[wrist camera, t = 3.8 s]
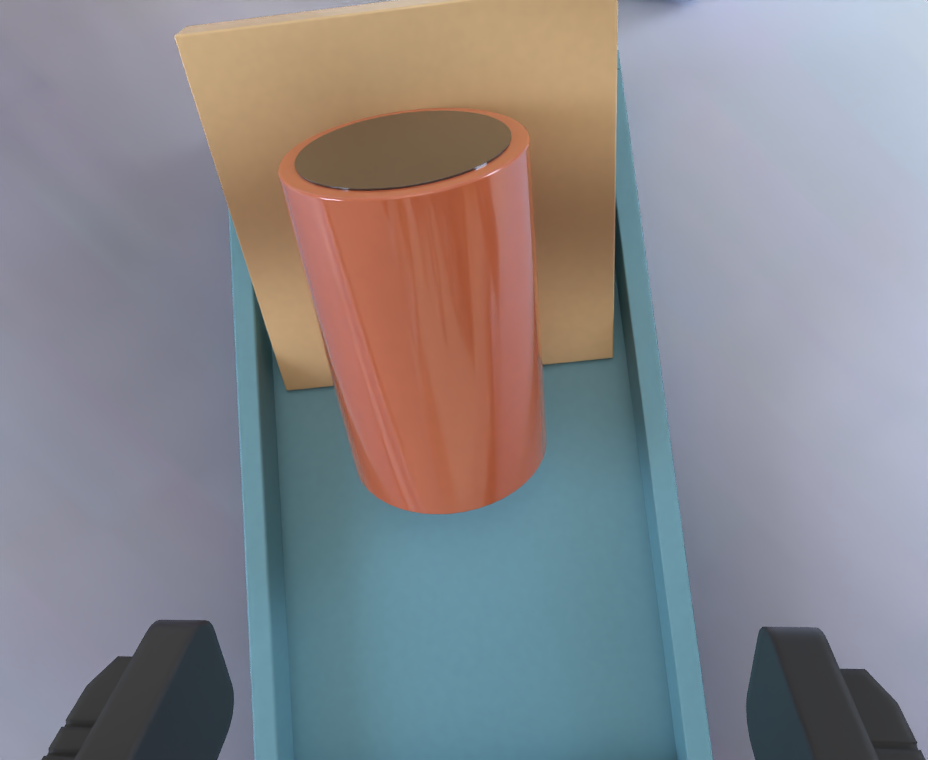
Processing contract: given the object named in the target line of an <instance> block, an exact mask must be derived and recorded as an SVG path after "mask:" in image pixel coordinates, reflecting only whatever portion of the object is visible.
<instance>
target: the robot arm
mask: <svg viewBox="0 0 928 760" xmlns="http://www.w3.org/2000/svg"><path fill="white" fill-rule="evenodd" d="M233 705H234V693H233V687H232V683H231V680H230V677H229V674H228V670H227V667H226V664H225V661H224V658H223V655H222V652H221V649H220V646H219V643H218V640H217V636H216V633H215V630H214V628H213V626H212V624H211V623H210V622H209V621H206V620H158V621H156V622H154V623H153V624H152V625H151V626H150V628H149V629H148V631H147V632H146V634H145V636H144V638H143V639H142V641H141V643H140V645H139V646H138V648H137V650H136V652H135V653H134V655H133V657H123V656H118V657H117V658H116V659H115V660H114V661H113V662H111V663H110V664H109V665H108V666H107V667H106V668H105V669H104V670H103V671H102V672H101V673H100V674H99V675H98V676H97V677H96V678H94V679H93V680H92V681H91V682H90V683H89V684H88V685H87V686H86V688H85V689H84V691H83V693H82V694H81V696H80V698H79V699H78V701H77V703H76V704H75V706H74V708H73V709H72V711H71V712H70V714H69V716H68V717H67V719H66V725H65V727H61V729H60V731H59V732H58V734H57V735H56V737H55V739H54V740H53V742H52V744H51V745H50V747H49V753H48V755H47V756H44V757H43V758H42V760H217V758H218V756H219V753H220V751H221V748H222V746H223V743H224V741H225V738H226V735H227V733H228V730H229V727H230V723H231V719H232V714H233ZM746 711H747V724H748V731H749V736H750V741H751V745H752V749H753V752H754V756H755V760H925V758H924V756H923V754H922V752H921V750H918V748H917V742H916V740H915V738H914V736H913V734H912V731H911V729H910V727H909V725H908V723H907V721H906V719H905V717H904V715H903V713H902V711H901V709H900V707H899V705H898V703H897V702H896V701H895V700H894V699H893V698H892V697H891V696H890V695H889V694H888V693H887V692H886V691H885V690H884V689H883V687H882V686H881V685H880V684H879V683H878V682H877V681H876V680H875V679H874V678H873V677H872V676H871V675H870V674H869V673H868V672H867V671H866V670H865V669H839V666H838V664H837V662H836V659H835V657H834V655H833V652H832V650H831V648H830V646H829V643H828V641H827V639H826V637H825V635H824V634H823V632H822V631H821V630H820V629H819V628H810V627H762V628H761V629H760V631H759V634H758V638H757V644H756V649H755V655H754V660H753V666H752V671H751V677H750V682H749V688H748V693H747V703H746Z"/></svg>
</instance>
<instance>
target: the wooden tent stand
mask: <svg viewBox="0 0 928 760" xmlns="http://www.w3.org/2000/svg"><path fill="white" fill-rule="evenodd" d="M175 41H176V44H177V47H178V50H179V53H180V57H181V60H182V63H183V66H184V69H185V72H186V76H187V79H188V82H189V85H190V88H191V91H192V94H193V98H194V101H195V104H196V107H197V110H198V113H199V117H200V120H201V123H202V126H203V129H204V132H205V136H206V139H207V142H208V145H209V148H210V151H211V154H212V158H213V161H214V164H215V167H216V170H217V173H218V177H219V180H220V183H221V186H222V189H223V192H224V196H225V199H226V202H227V205H228V208H229V211H230V215H231V218H232V221H233V224H234V227H235V230H236V233H237V237H238V240H239V243H240V246H241V249H242V252H243V256H244V259H245V262H246V265H247V268H248V271H249V275H250V278H251V281H252V284H253V287H254V290H255V293H256V297H257V300H258V303H259V306H260V309H261V312H262V316H263V319H264V322H265V325H266V328H267V331H268V335H269V338H270V341H271V344H272V347H273V350H274V353H275V357H276V360H277V363H278V366H279V369H280V372H281V376H282V379H283V382H284V385H285V388H286V390H287V391H289V390H299V389H308V388H318V387H328V386H333V382H332V378H331V374H330V371H329V367H328V363H327V359H326V356H325V352H324V348H323V344H322V341H321V337H320V333H319V329H318V325H317V322H316V318H315V314H314V310H313V307H312V303H311V299H310V295H309V292H308V288H307V284H306V280H305V276H304V273H303V269H302V265H301V261H300V258H299V254H298V250H297V246H296V243H295V239H294V235H293V231H292V227H291V224H290V220H289V216H288V212H287V209H286V205H285V201H284V197H283V194H282V190H281V186H280V182H279V179H278V166H279V163H280V161H281V160H282V158H283V157H284V156H285V155H286V154H287V153H288V151H290V150H291V149H292V148H293V147H295V146H296V145H298V144H299V143H301V142H303V141H304V140H306V139H308V138H310V137H312V136H314V135H316V134H318V133H320V132H323V131H325V130H327V129H330V128H333V127H336V126H338V125H341V124H345V123H348V122H351V121H355V120H359V119H362V118H366V117H371V116H376V115H380V114H386V113H392V112H398V111H406V110H415V109H427V108H467V109H477V110H484V111H490V112H495V113H499V114H502V115H505V116H508V117H510V118H513V119H515V120H517V121H518V122H520V123H521V124H522V125H523V126H524V127H525V128H526V129H527V131H528V133H529V135H530V150H531V167H532V185H533V203H534V221H535V238H536V256H537V274H538V291H539V309H540V327H541V345H542V362H543V365H547V364H556V363H566V362H576V361H586V360H596V359H606V358H613V344H614V271H615V198H616V124H617V51H618V0H394V1H386V2H378V3H370V4H362V5H354V6H346V7H338V8H330V9H322V10H314V11H306V12H297V13H289V14H281V15H273V16H265V17H257V18H249V19H241V20H233V21H225V22H217V23H209V24H201V25H193V26H187V27H185V28H184V29H183V30H181V31H180V32H179V33H178V34H176V35H175Z"/></svg>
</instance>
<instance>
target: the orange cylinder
mask: <svg viewBox="0 0 928 760" xmlns="http://www.w3.org/2000/svg"><path fill="white" fill-rule="evenodd" d="M278 179H279V182H280V186H281V190H282V194H283V197H284V201H285V205H286V209H287V212H288V216H289V220H290V224H291V227H292V231H293V235H294V239H295V243H296V246H297V250H298V254H299V258H300V261H301V265H302V269H303V273H304V276H305V280H306V284H307V288H308V292H309V295H310V299H311V303H312V307H313V310H314V314H315V318H316V322H317V325H318V329H319V333H320V337H321V341H322V344H323V348H324V352H325V356H326V359H327V363H328V367H329V371H330V374H331V378H332V382H333V386H334V389H335V393H336V397H337V401H338V405H339V408H340V412H341V416H342V420H343V423H344V427H345V431H346V435H347V438H348V442H349V446H350V450H351V454H352V457H353V461H354V465H355V469H356V471H357V474H358V477H359V478H360V480H361V482H362V483H363V485H364V486H365V487H366V488H367V489H368V490H369V491H370V492H371V493H372V494H373V495H375V496H376V497H377V498H378V499H380V500H382V501H384V502H385V503H387V504H389V505H392V506H394V507H396V508H399V509H403V510H406V511H410V512H415V513H422V514H436V515H438V514H454V513H461V512H467V511H471V510H475V509H479V508H482V507H485V506H488V505H490V504H493V503H495V502H497V501H499V500H501V499H503V498H505V497H507V496H508V495H510V494H512V493H513V492H515V491H516V490H517V489H519V488H520V487H521V486H523V485H524V484H525V483H526V482H527V481H528V480H529V479H530V478H531V477H532V476H533V474H534V473H535V472H536V470H537V469H538V467H539V465H540V463H541V462H542V460H543V457H544V454H545V451H546V445H547V433H546V415H545V398H544V380H543V362H542V345H541V327H540V309H539V291H538V274H537V256H536V238H535V221H534V203H533V185H532V167H531V150H530V135H529V133H528V131H527V129H526V128H525V127H524V126H523V125H522V124H521V123H520V122H518V121H517V120H515V119H513V118H510V117H508V116H505V115H502V114H499V113H495V112H490V111H484V110H477V109H467V108H427V109H415V110H406V111H398V112H392V113H386V114H380V115H376V116H371V117H366V118H362V119H359V120H355V121H351V122H348V123H345V124H341V125H338V126H336V127H333V128H330V129H327V130H325V131H323V132H320V133H318V134H316V135H314V136H312V137H310V138H308V139H306V140H304V141H303V142H301V143H299V144H298V145H296V146H295V147H293V148H292V149H291V150H290V151H288V153H287V154H286V155H285V156H284V157H283V158H282V160H281V161H280V163H279V166H278Z"/></svg>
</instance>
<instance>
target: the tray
mask: <svg viewBox="0 0 928 760" xmlns="http://www.w3.org/2000/svg"><path fill="white" fill-rule="evenodd" d="M620 69H621V66H620V58H619V51H617V124H616V198H615V271H614V344H613V358H606V359H596V360H586V361H576V362H566V363H556V364H547V365H543V380H544V398H545V415H546V433H547V445H546V451H545V454H544V457H543V460H542V462H541V463H540V465H539V467H538V469H537V470H536V472H535V473H534V474H533V476H532V477H531V478H530V479H529V480H528V481H527V482H526V483H525V484H524V485H523V486H521V487H520V488H519V489H517V490H516V491H515V492H513V493H512V494H510V495H508V496H507V497H505V498H503V499H501V500H499V501H497V502H495V503H493V504H490V505H488V506H485V507H482V508H479V509H475V510H471V511H467V512H461V513H454V514H438V515H436V514H422V513H415V512H410V511H406V510H403V509H399V508H396V507H394V506H392V505H389V504H387V503H385V502H384V501H382V500H380V499H378V498H377V497H376V496H375V495H373V494H372V493H371V492H370V491H369V490H368V489H367V488H366V487H365V486H364V485H363V483H362V482H361V480H360V478H359V477H358V474H357V471H356V469H355V465H354V461H353V457H352V454H351V450H350V446H349V442H348V438H347V435H346V431H345V427H344V423H343V420H342V416H341V412H340V408H339V405H338V401H337V397H336V393H335V389H334V386H328V387H318V388H308V389H299V390H289V391H287V390H286V388H285V385H284V382H283V379H282V376H281V372H280V369H279V366H278V363H277V360H276V357H275V353H274V350H273V347H272V344H271V341H270V338H269V335H268V331H267V328H266V325H265V322H264V319H263V316H262V312H261V309H260V306H259V303H258V300H257V297H256V293H255V290H254V287H253V284H252V281H251V278H250V275H249V271H248V268H247V265H246V262H245V259H244V256H243V252H242V249H241V246H240V243H239V240H238V237H237V233H236V230H235V227H234V224H233V221H232V218H231V215H230V211H229V230H230V251H231V272H232V293H233V314H234V335H235V356H236V377H237V398H238V419H239V440H240V461H241V482H242V503H243V524H244V545H245V566H246V587H247V608H248V629H249V650H250V671H251V692H252V713H253V734H254V755H255V760H713V757H712V749H711V742H710V734H709V726H708V719H707V711H706V704H705V696H704V689H703V681H702V674H701V666H700V659H699V651H698V644H697V636H696V629H695V621H694V614H693V606H692V599H691V591H690V584H689V576H688V569H687V561H686V554H685V546H684V539H683V531H682V524H681V516H680V509H679V501H678V494H677V486H676V479H675V471H674V464H673V456H672V449H671V441H670V434H669V426H668V419H667V411H666V404H665V396H664V389H663V381H662V374H661V366H660V359H659V351H658V344H657V336H656V329H655V321H654V314H653V306H652V299H651V291H650V284H649V276H648V269H647V261H646V253H645V246H644V238H643V231H642V223H641V216H640V208H639V201H638V193H637V186H636V178H635V171H634V163H633V156H632V148H631V141H630V133H629V126H628V118H627V111H626V103H625V96H624V88H623V81H622V73H621V70H620ZM228 209H229V208H228Z"/></svg>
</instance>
